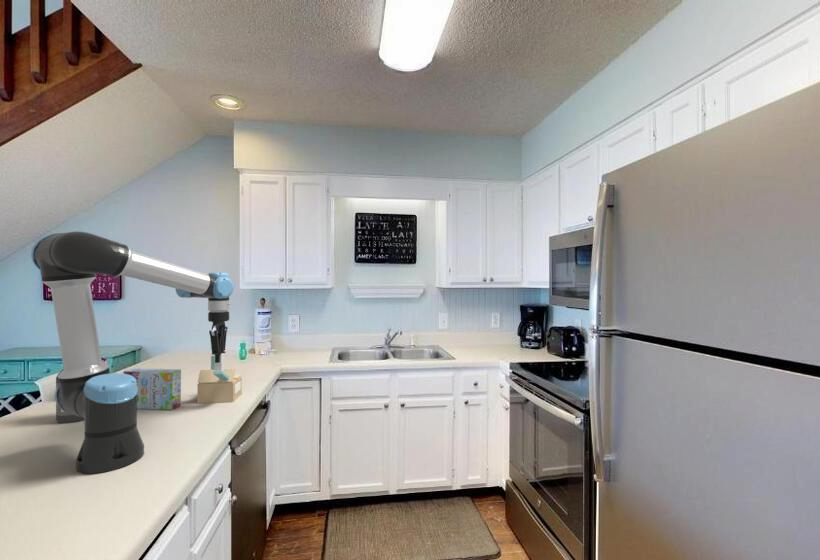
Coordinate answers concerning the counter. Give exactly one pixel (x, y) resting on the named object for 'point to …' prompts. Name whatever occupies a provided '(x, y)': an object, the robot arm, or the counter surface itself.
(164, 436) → the counter surface
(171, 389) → the snack box
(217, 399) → the carton
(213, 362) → the flap far
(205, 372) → the flap near
